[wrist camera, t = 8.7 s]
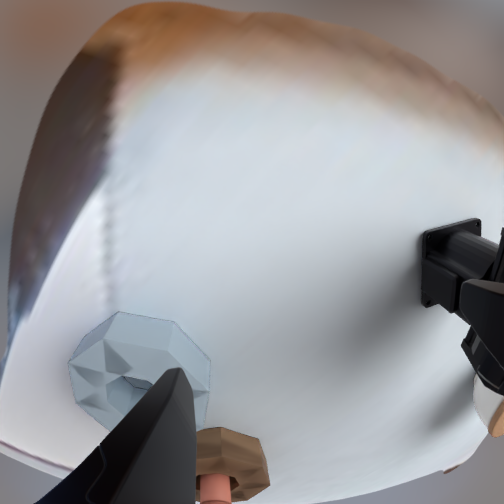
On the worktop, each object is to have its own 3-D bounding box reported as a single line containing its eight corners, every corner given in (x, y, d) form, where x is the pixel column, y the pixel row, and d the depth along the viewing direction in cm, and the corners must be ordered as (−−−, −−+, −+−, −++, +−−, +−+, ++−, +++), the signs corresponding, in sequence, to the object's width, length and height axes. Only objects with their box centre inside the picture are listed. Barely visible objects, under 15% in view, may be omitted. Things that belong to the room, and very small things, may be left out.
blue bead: (147, 290, 20) (135, 316, 17) (233, 383, 23) (235, 414, 20) (64, 351, 21) (48, 376, 18) (145, 424, 24) (139, 452, 21)
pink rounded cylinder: (224, 447, 26) (227, 505, 19) (231, 461, 27) (236, 516, 20) (196, 451, 26) (195, 508, 19) (205, 465, 27) (205, 518, 20)
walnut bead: (252, 421, 25) (256, 451, 21) (270, 471, 28) (274, 495, 25) (149, 434, 24) (144, 462, 21) (185, 481, 28) (184, 505, 24)
